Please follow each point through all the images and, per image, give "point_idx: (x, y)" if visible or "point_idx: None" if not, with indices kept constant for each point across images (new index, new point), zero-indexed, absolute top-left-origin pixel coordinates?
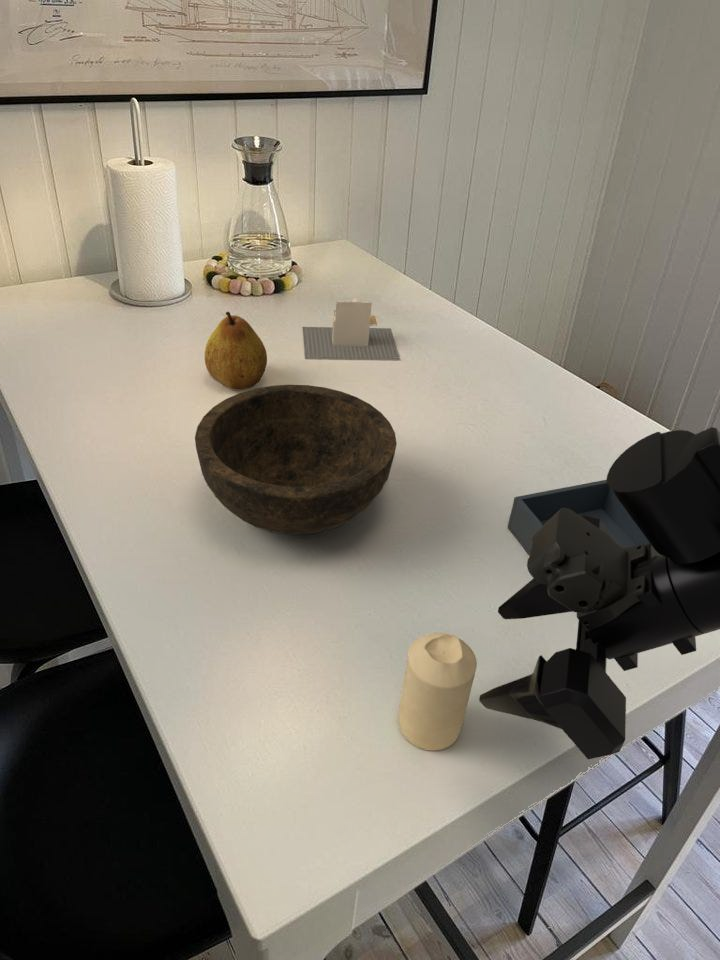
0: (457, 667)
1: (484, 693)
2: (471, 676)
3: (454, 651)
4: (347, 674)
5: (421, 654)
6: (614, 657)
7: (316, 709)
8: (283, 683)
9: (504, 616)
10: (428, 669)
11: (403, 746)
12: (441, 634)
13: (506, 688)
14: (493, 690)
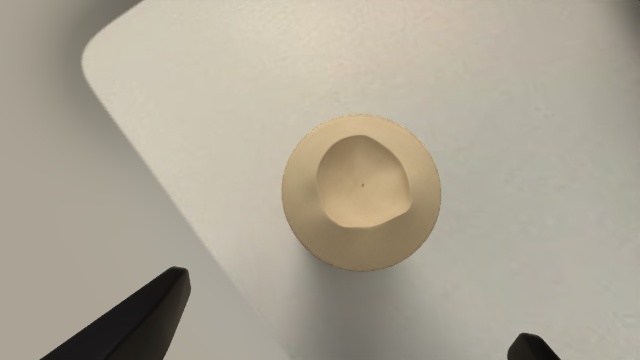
0: (318, 218)
1: (173, 280)
2: (320, 257)
3: (372, 211)
4: (410, 92)
5: (342, 131)
6: None
7: (343, 62)
8: (375, 15)
9: (513, 354)
10: (308, 153)
11: None
12: (417, 175)
13: (80, 352)
14: (145, 305)
